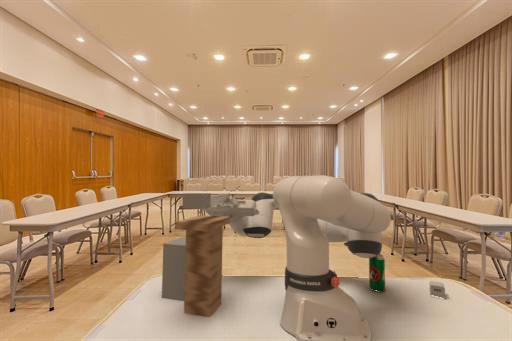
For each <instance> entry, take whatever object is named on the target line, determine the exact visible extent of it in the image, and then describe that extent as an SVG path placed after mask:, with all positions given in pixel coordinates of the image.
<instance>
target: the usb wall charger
mask: <svg viewBox="0 0 512 341" xmlns="http://www.w3.org/2000/svg"><path fill="white" fill-rule="evenodd" d="M444 284H445V283H443V282H441V281H435V280H430V281H429V294H430V295H429V296H431V295H434V296H438V297H442V298H445V299H446V288H445V285H444Z"/></svg>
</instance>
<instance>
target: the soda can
mask: <svg viewBox="0 0 512 341" xmlns="http://www.w3.org/2000/svg"><path fill="white" fill-rule="evenodd" d="M385 260H386V259H385V257H384V255H383V254H381V253H380V254H379V255H378V256H374V257H371V258H368V276H369V277H368V284H369V285H368V287H369V289H370V288H371V289H373V290H377V291H383V292H384V291H386V271H385V270H386V268H385V267H386V266H385V264H386V261H385ZM371 289H370V290H371ZM373 290H372V291H373Z"/></svg>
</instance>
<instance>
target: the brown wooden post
mask: <svg viewBox="0 0 512 341" xmlns="http://www.w3.org/2000/svg"><path fill="white" fill-rule="evenodd" d="M229 223H230V217H227V216H210V215H203V214H202V215H198V216H193V217H190V218H185V219H181V220H178V221H175V222H174V224H175V225H174V226H175V230H178V231H179V230H180V231H181V230H183V231H185V236H186V251H185V292H184V301H183V314H187V315H192V316H193V315H194V316H200V317H201V316H202V317H208V318H210V317H212V316H213V314H214V313H215V312H216V311H217V310H218V309H219V308H220V307H221V305H222V296H223V294H222V290H223V289H222V286H223V285H222V284H223V283H222V282H223V278H222V277H223V239H224V238H223V237H224V236H223V232H224V231H223V230H224V229H223V228H224V227H223V226H226V225H229Z"/></svg>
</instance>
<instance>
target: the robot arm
mask: <svg viewBox="0 0 512 341" xmlns="http://www.w3.org/2000/svg"><path fill="white" fill-rule="evenodd" d="M227 200H228V202H231V203H226V204H221V205H216V206H210V208H206V209H203V210H204V212H205V213H206V214H207V216H227V217H230V223H229V224H228V226H230V228H231V229H232V230H233V231H234V233H235V234H237V235H239V236H242V237H246V236H247V237H248V238H253V239H262V238H265V237H267V236H269V235H270V234H271V233H272V228H273V219H274V211H275V210H276V209H278V210H279V213H280V216H281V219H282V223H283V228H284V232H285V233H284V234H285V240H286V267H285V269H284V289H285V296H284V301H283V302H284V303H283V309H282V313H281V316H280V319H279V320H280V321H279V322H280V326H281V327H282V328H283V329H284V330H285V331H286V332H288V333H289V334H291V335H292V336H294V337H295V338H296V339H297V340H298V341H372V330H371V327H370V324H369V323H368V321H367V320H366V318H364V317H363V316H361V311H360V308H359V306H358V304H357V302H356V300H355V299H354V298H353V297H352V296H350V294H348V293H347V292H346V291H344V289H342V288H341V287H339V286H340V284H341V282H340V279H339V278H338V274H336V270H333V271H332V270H331V269H330V243H343V245H344V246H346V247H347V249H348V250H349V252H350V253H351V254H353V255H355V256H357V257H359V258H364V259H369V258H371V257H374V256H378V255H379V254H381V253H382V248H383V246H382V245H383V243H382V233H383V232H385V231H386V230H387V229H388V228H389V227H390V224H391V222H392V215H391V213H390V210H389V209H388V208H387V206H385V205H384V204H382V203H381V202H379V200H378V198H377V197H376V196H375V195H374V194H372V193H368V192H360V193H359V192H358V191H354V190H351V189H350V187H349V185H348V184H347V182H345V180H342V179H341V178H338V177H335V176H330V175H324V174H322V175H321V174H319V175H316V174H315V175H291V176H288V177H286V178H283V179H281V180H279V181H278V182H277V183H276V184H275V186H274V187H273V190H272V194H271V193H268V192H258V193H256V194H255V195H254V196H252V198H251V199H238V198H235V197H234V196H233V195H231V196H228V198H227Z"/></svg>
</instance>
